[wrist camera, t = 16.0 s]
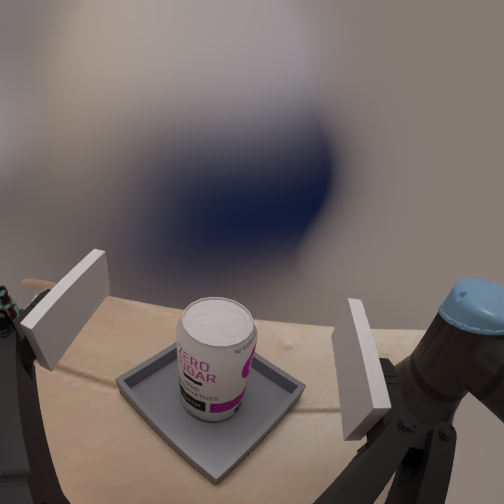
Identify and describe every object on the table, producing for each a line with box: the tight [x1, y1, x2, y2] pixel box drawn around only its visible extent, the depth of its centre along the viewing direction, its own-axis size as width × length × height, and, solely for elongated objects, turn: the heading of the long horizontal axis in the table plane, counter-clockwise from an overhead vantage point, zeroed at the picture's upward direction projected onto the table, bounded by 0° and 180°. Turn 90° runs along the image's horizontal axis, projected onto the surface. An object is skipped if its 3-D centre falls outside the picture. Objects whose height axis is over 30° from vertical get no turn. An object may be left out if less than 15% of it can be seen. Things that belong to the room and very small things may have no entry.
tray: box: [115, 342, 306, 485], centre depth 34 cm, size 18×18×4 cm
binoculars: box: [0, 286, 24, 322], centre depth 30 cm, size 9×11×10 cm
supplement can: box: [176, 297, 257, 421], centre depth 31 cm, size 8×8×15 cm
